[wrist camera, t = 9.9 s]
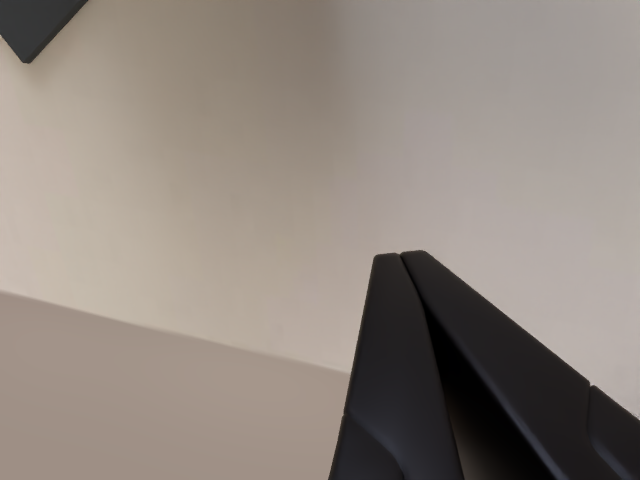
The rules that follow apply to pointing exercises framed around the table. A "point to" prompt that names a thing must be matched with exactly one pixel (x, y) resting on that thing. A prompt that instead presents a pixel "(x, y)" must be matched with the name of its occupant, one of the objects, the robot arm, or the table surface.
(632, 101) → the table surface
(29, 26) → the mat
